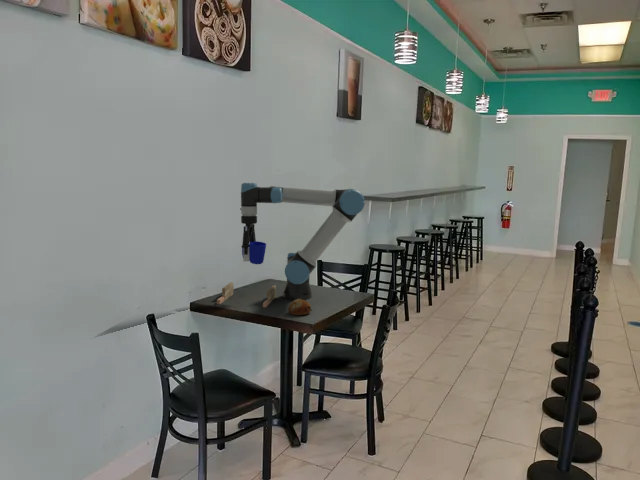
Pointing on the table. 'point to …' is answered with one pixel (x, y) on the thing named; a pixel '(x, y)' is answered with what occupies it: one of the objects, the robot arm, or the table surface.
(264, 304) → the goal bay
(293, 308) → the bread roll
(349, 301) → the table surface
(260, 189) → the robot arm
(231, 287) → the tunnel walls
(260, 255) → the mug
